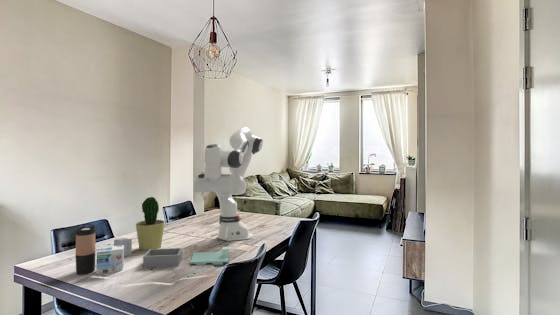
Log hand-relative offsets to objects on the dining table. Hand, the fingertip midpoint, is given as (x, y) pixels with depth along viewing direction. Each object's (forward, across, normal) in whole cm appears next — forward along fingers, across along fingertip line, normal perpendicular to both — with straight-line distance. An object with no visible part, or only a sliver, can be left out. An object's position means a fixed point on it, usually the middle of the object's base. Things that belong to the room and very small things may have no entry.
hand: (213, 199), depth 163 cm
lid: (+28, +2, +11) cm, 30 cm away
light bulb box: (+28, +46, +19) cm, 57 cm away
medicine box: (+29, +48, -3) cm, 56 cm away
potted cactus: (+29, +37, -14) cm, 49 cm away
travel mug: (+28, +57, +18) cm, 66 cm away
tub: (+29, +24, +13) cm, 39 cm away
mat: (+29, +2, +11) cm, 31 cm away
